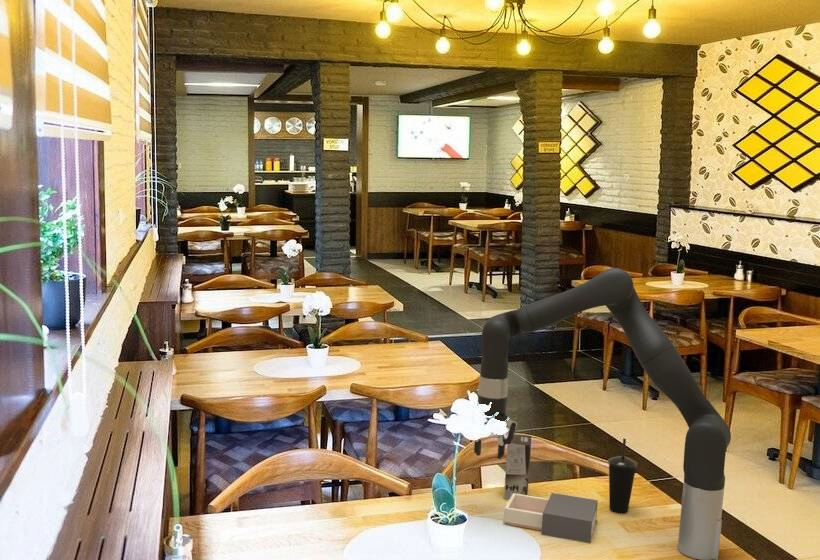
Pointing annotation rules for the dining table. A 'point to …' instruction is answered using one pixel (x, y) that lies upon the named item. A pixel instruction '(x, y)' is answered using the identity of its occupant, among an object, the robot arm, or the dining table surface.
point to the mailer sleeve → (569, 517)
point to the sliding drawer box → (528, 511)
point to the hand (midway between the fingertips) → (488, 456)
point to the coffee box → (517, 466)
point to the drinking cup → (621, 481)
